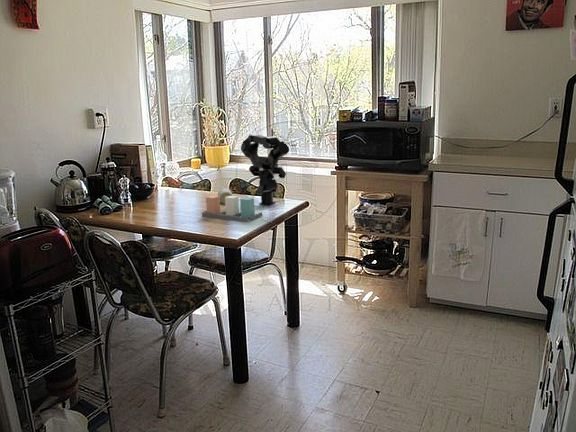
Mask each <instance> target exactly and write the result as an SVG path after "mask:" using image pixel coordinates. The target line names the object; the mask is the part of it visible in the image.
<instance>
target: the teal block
mask: <svg viewBox="0 0 576 432" xmlns="http://www.w3.org/2000/svg"><path fill="white" fill-rule="evenodd" d="M239 206H240V212H241V217H245V218H248V220H249V217H251V216H253V215H256V214H255V198H254V197H247V196H244V197H242V198H240V199H239Z"/></svg>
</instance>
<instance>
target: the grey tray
mask: <svg viewBox="0 0 576 432" xmlns="http://www.w3.org/2000/svg"><path fill="white" fill-rule="evenodd" d="M263 215H264V214H263V212H262V211H261V212H259V213H256V214H255V215H253V216H251V217H249V219H248V218H245V217H241V211H239V213H238V214H235V215H233V216H229V215H226V210H223V211H220V213H218V214H214V213H207V209H205V210H203V211H202V212H201V217H207V218H213V219H214V218H215V219H222V220H228V221H229V220H230V221H235V222H236V221H237V222H238V221H239V222H245V223H248V222H249V221H250V222H252V221H254V220H256V219H258V218H261V217H264V216H263Z"/></svg>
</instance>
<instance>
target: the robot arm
mask: <svg viewBox="0 0 576 432" xmlns="http://www.w3.org/2000/svg"><path fill="white" fill-rule="evenodd" d="M260 145H262V147H263V148H264V149H266V150H267V149H270V151H269V153H268V155H267V156H259V155H258V153H259V152H258V151H259V146H260ZM240 151H241V153H243V155H244V156H245V157H246V158H248V159H249V160H250V162H251V164H252V165H250V166H249V168H248V170H249V172H250V173H251V174H252V176H254V177H258V178H259V181H258V187H257V188H256V191H257V193H258V194H260V196H261V197H260V199H261V200H260V201H261V202H259V205H262V206H271V205H274V204H275V203H277V202H276V201H274V193H276V192H277V189H278V188H277V186H278V183H277V181H276V178H275V176H276V175H278V178H279V179H285V177H286V175H287V173H286V171H285V170H284V168H283V167H282V166H281V167H280V166H279V164H278V163H279V160H280V158H284V156H286V155H287V154H288V153H289V151H290V147H289V146H288V144H287V143H285V142H284V140H280V138H279V137H278V136H276V135H274V136H265V135H260V134H258V133H254V134H253V133H252V134H249V135H248V136H247V138H246V139H244V140H243V141H242V143H241V146H240Z"/></svg>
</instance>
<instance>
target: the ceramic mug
mask: <svg viewBox="0 0 576 432" xmlns="http://www.w3.org/2000/svg"><path fill="white" fill-rule="evenodd" d="M217 196H219V199H220V204H225V197H227V196H233V193H232V191H231V190H230V189H229V188H226V187H225V188H220V189H219V190H218V192H217Z"/></svg>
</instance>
